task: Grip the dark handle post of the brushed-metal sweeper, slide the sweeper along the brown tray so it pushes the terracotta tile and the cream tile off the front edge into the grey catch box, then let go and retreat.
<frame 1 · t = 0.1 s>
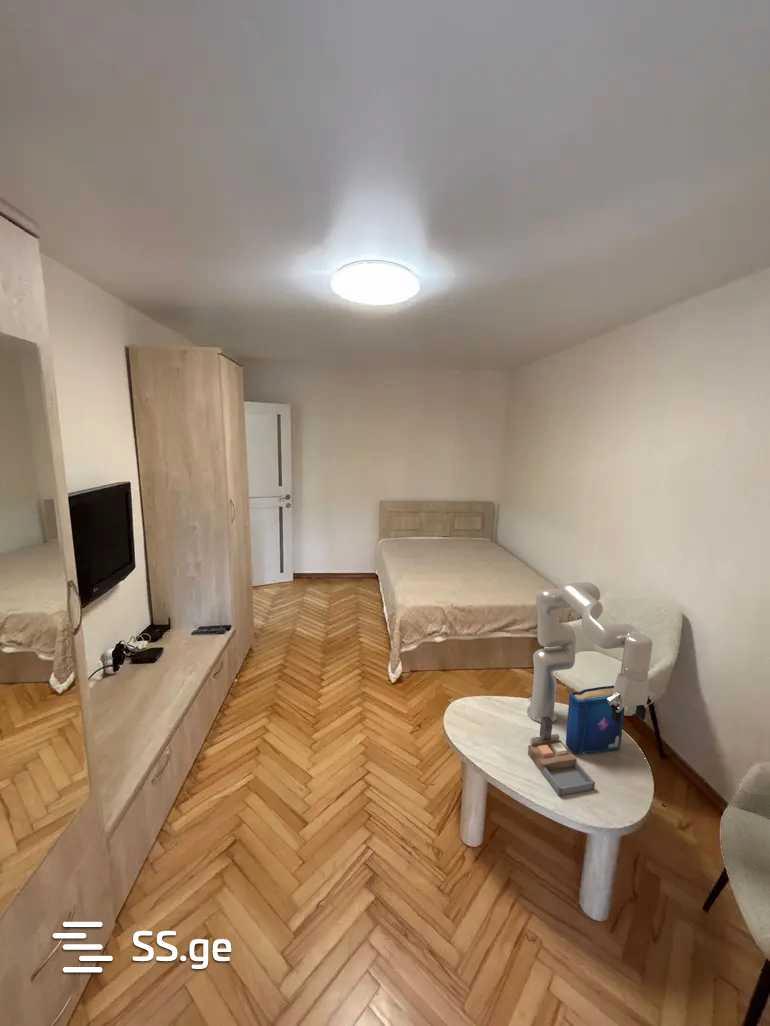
hand: (627, 718, 139), 31 cm above the table, fingers open, 9 cm apart
tile cream: (558, 750, 162), point 4 cm above the table, touching brown tray
brown tray: (551, 761, 162), on the table
book: (590, 748, 169), on the table
tile terracotta: (544, 752, 161), point 4 cm above the table, touching brown tray
sweeper: (545, 730, 165), point 9 cm above the table, slide at 0.0 cm
catch box: (567, 781, 152), on the table
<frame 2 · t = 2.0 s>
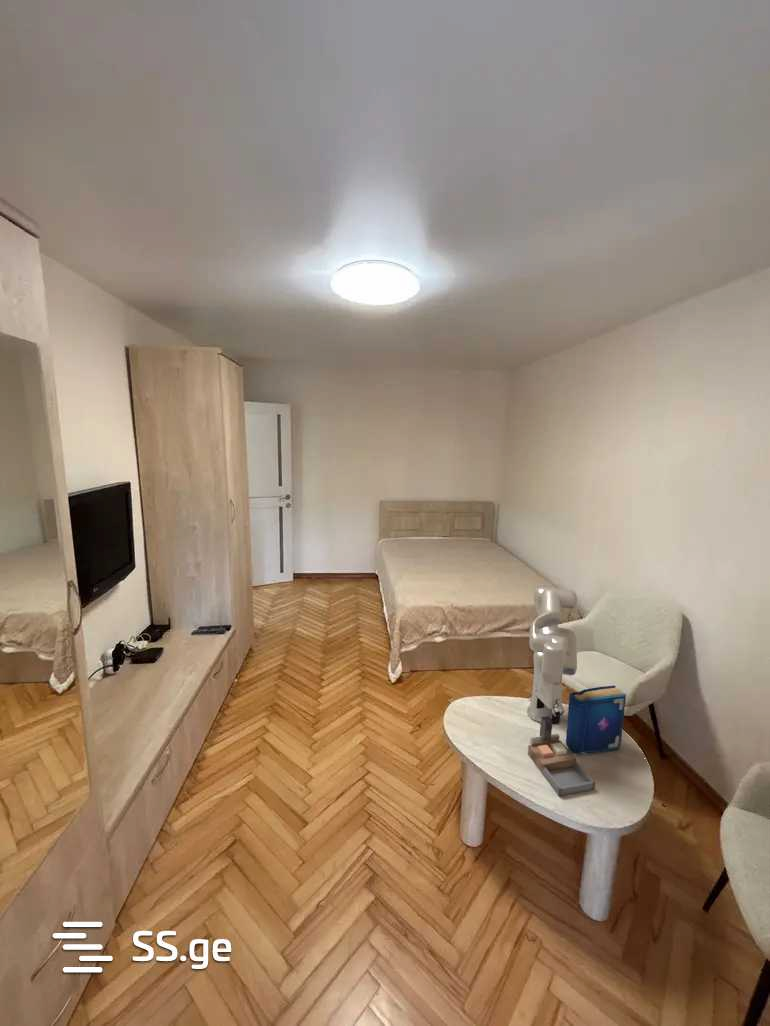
hand: (547, 715, 163), 16 cm above the table, fingers open, 9 cm apart
nothing on the table moved.
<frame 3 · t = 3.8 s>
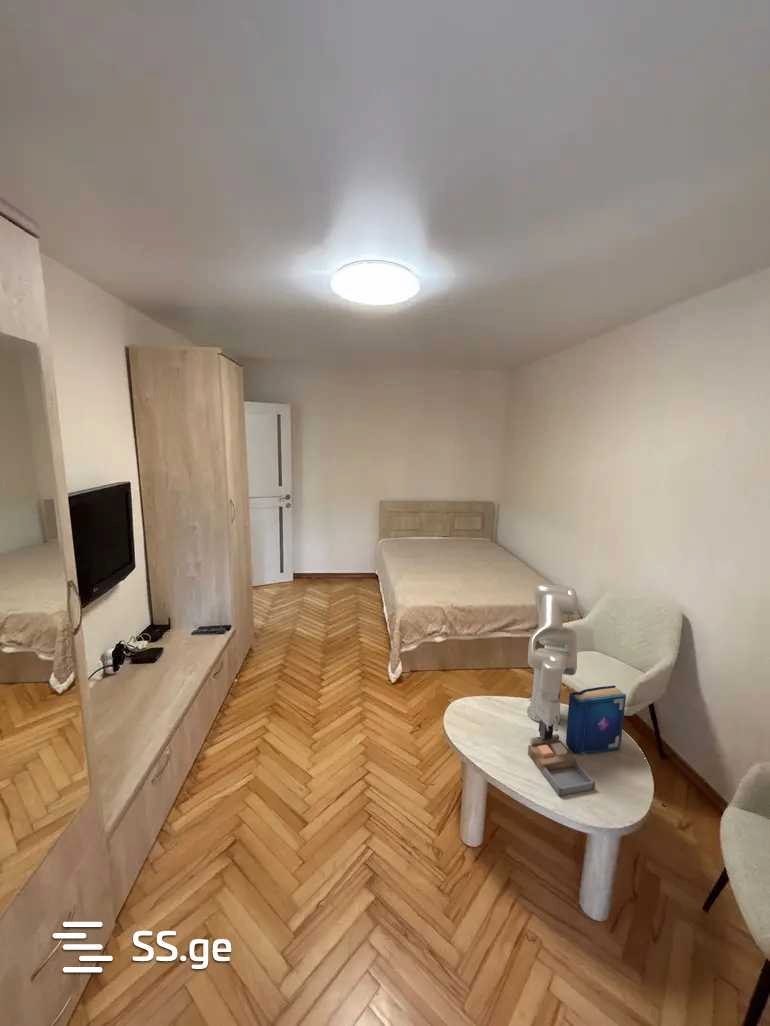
hand: (545, 734, 165), 8 cm above the table, fingers closed on sweeper, 3 cm apart
sweeper: (545, 730, 165), point 9 cm above the table, slide at 0.0 cm, touching gripper
everything else where it was.
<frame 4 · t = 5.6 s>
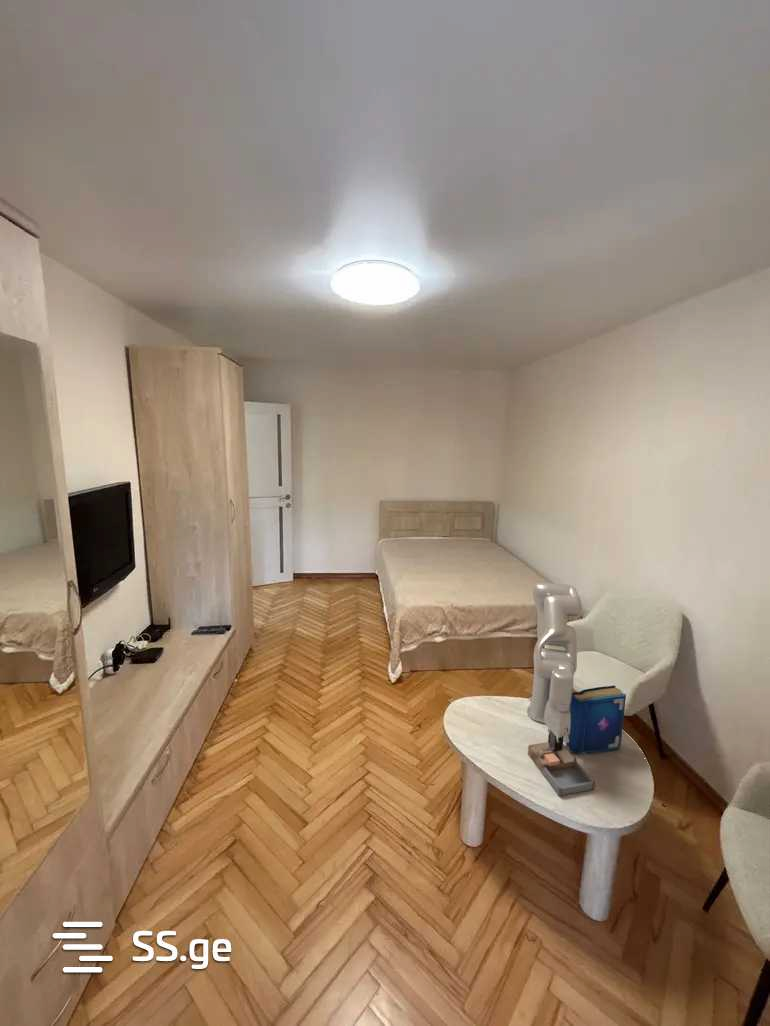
hand: (555, 745, 159), 8 cm above the table, fingers closed on sweeper, 3 cm apart
tile cream: (565, 758, 158), point 4 cm above the table
tile terracotta: (551, 760, 157), point 4 cm above the table, touching brown tray
sweeper: (555, 741, 159), point 9 cm above the table, slide at 6.3 cm, touching gripper
everything else where it was.
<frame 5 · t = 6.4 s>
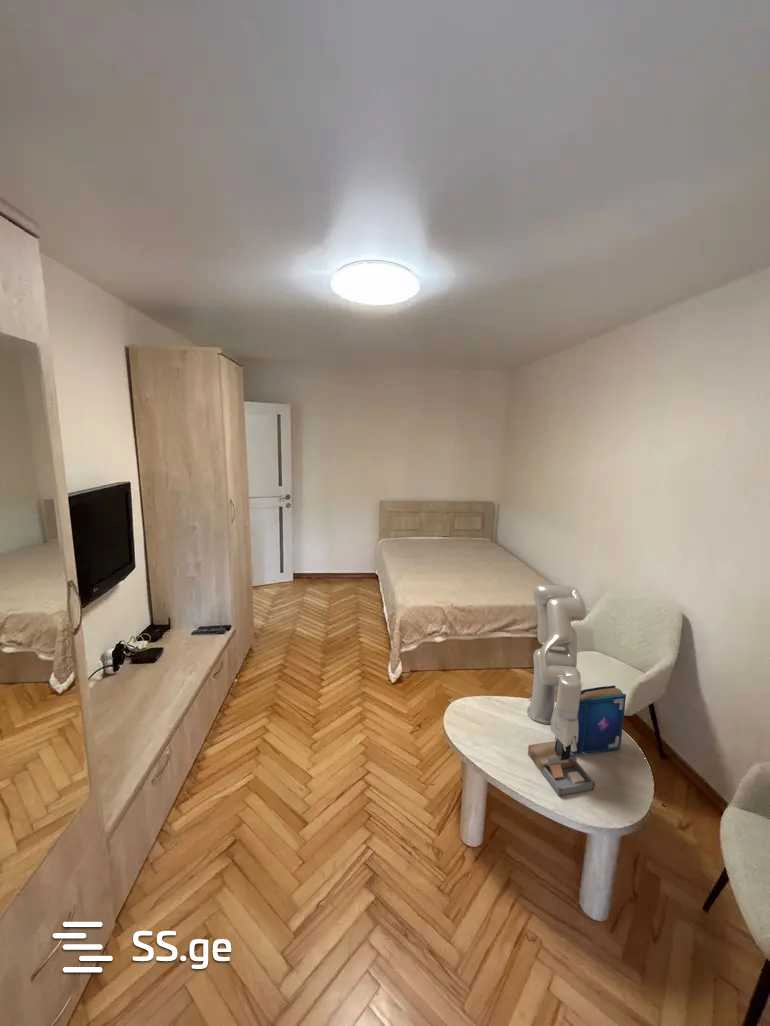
hand: (562, 754, 155), 8 cm above the table, fingers closed on sweeper, 3 cm apart
tile cream: (576, 776, 152), point 2 cm above the table, tilted 180°, touching catch box
tile terracotta: (554, 770, 155), point 2 cm above the table, tilted 51°, touching catch box, sweeper
sweeper: (562, 750, 155), point 9 cm above the table, slide at 10.5 cm, touching gripper, tile terracotta
everything else where it was.
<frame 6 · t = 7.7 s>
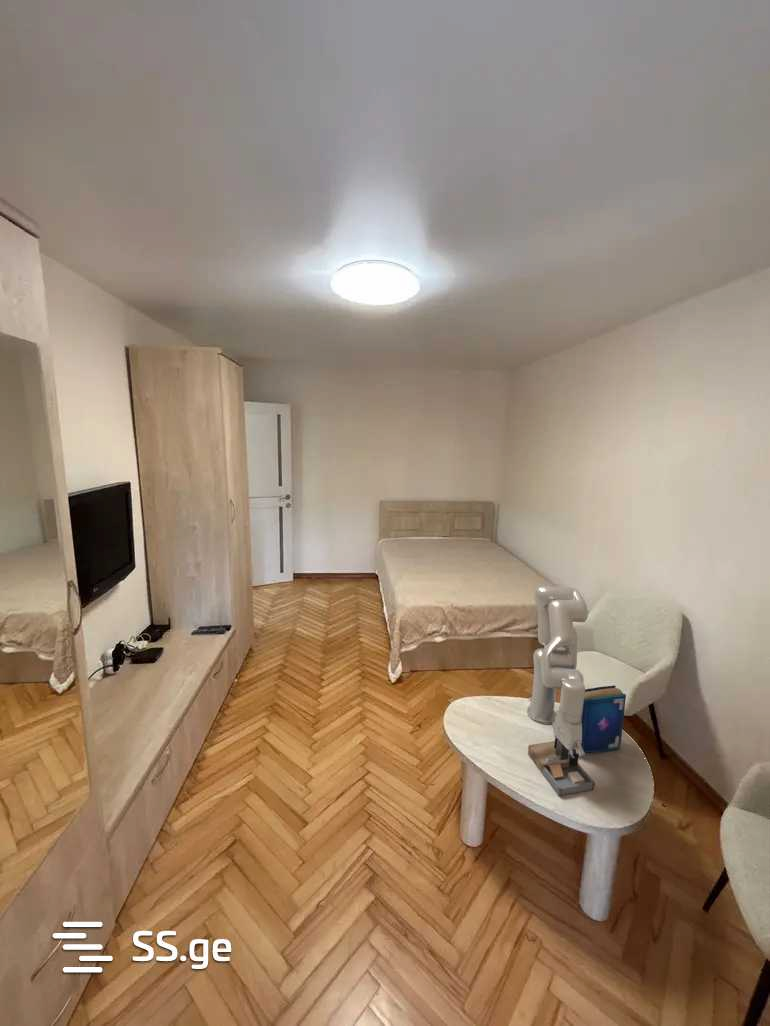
hand: (565, 756, 153), 8 cm above the table, fingers open, 8 cm apart
sweeper: (562, 749, 155), point 9 cm above the table, slide at 10.4 cm, touching tile terracotta
everything else where it was.
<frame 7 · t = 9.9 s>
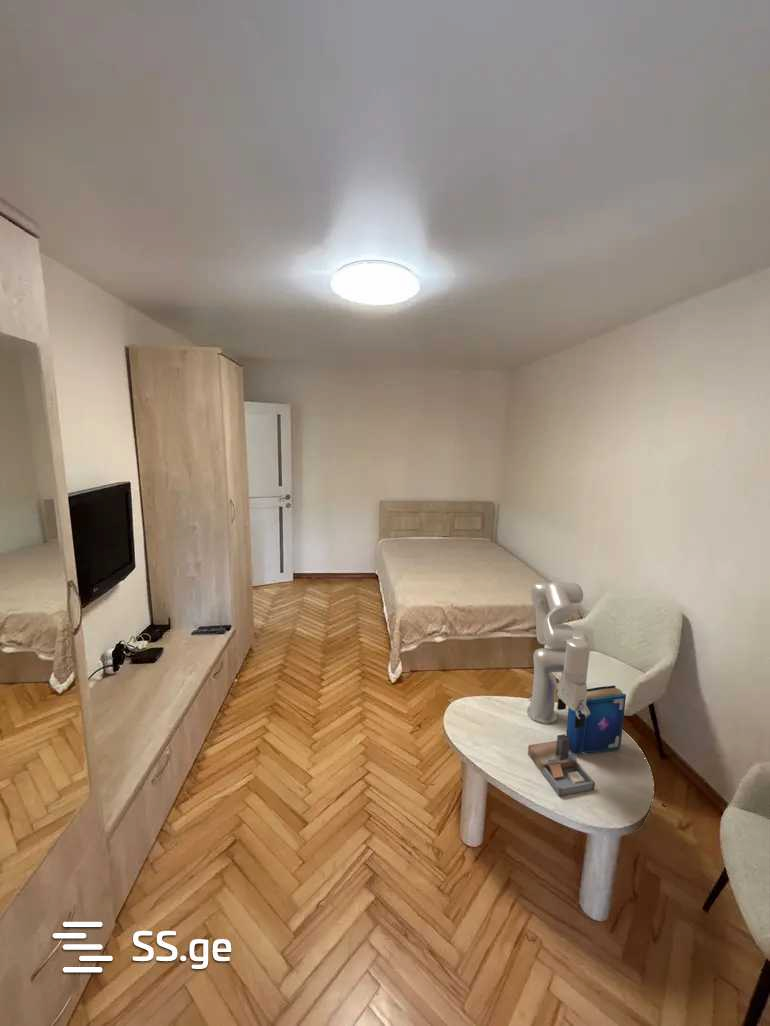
hand: (569, 717, 150), 24 cm above the table, fingers open, 9 cm apart
nothing on the table moved.
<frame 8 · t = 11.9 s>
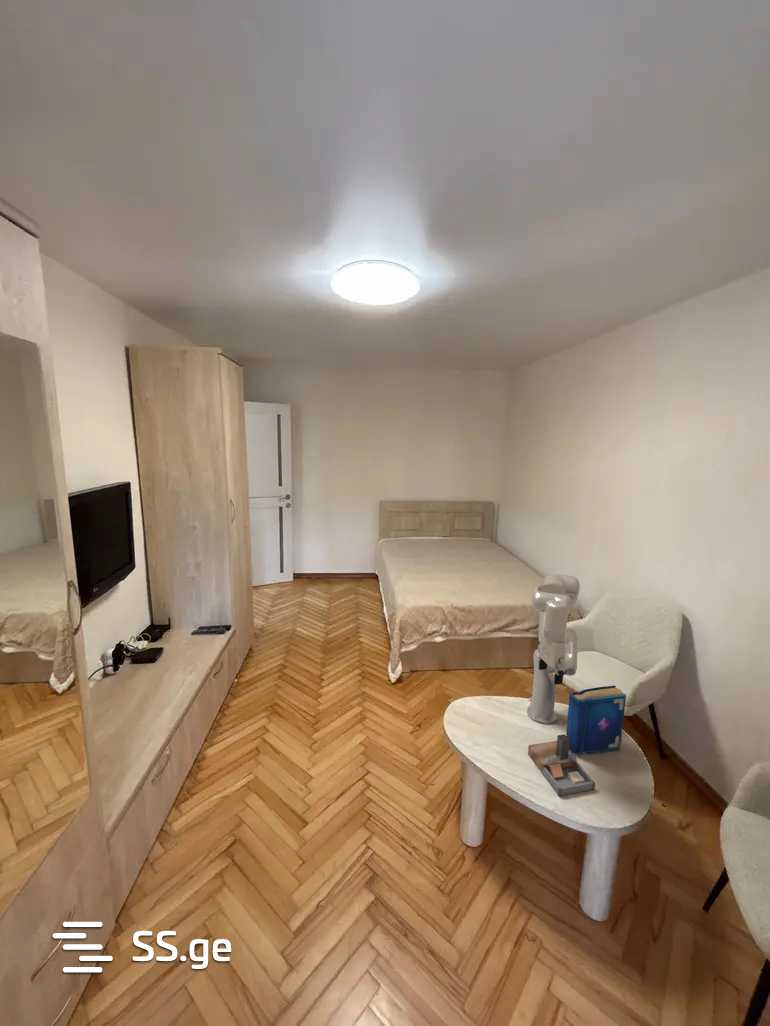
hand: (550, 676, 158), 34 cm above the table, fingers open, 9 cm apart
nothing on the table moved.
at the end: tile terracotta inside the target area (4.9 cm from its centre), point 2.0 cm above the table; tile cream inside the target area (3.0 cm from its centre), point 2.0 cm above the table; sweeper slide at 10.4 cm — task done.
